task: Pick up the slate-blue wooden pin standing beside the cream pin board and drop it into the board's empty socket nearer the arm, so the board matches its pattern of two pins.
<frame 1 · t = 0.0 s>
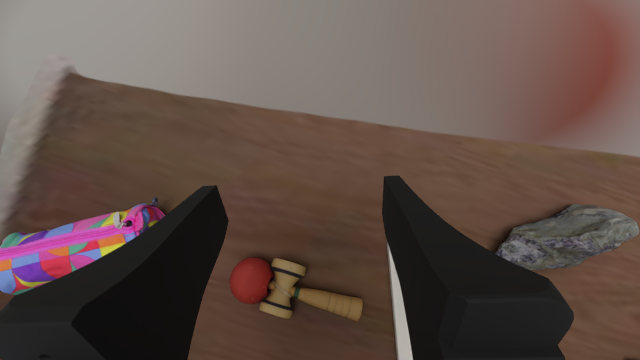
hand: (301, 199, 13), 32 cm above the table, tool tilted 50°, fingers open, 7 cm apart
pencil case: (113, 247, 47), on the table
kendama: (299, 289, 43), on the table
mineral rock: (536, 236, 42), on the table
pin board: (431, 324, 40), on the table
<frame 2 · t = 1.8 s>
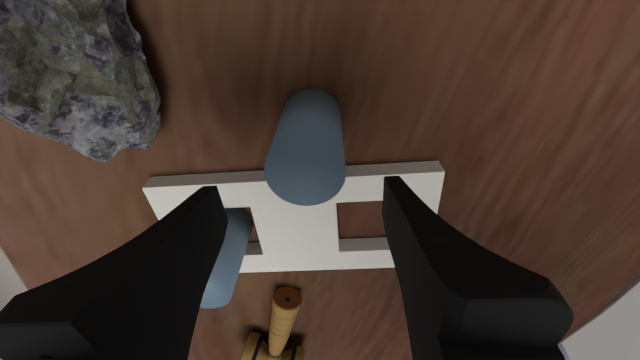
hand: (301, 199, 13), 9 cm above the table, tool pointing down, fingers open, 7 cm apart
kendama: (277, 327, 36), on the table
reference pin: (230, 220, 26), resting in pin board
mineral rock: (76, 18, 18), on the table
loose pin: (311, 117, 20), on the table
pin board: (298, 218, 26), on the table
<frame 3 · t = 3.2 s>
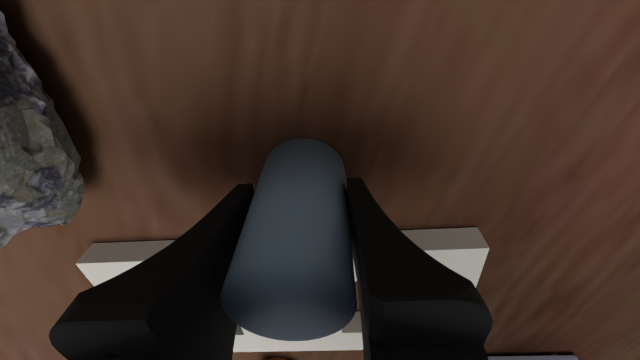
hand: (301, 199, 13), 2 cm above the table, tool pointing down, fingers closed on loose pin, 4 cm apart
loose pin: (304, 174, 15), on the table, touching gripper
pin board: (289, 289, 20), on the table
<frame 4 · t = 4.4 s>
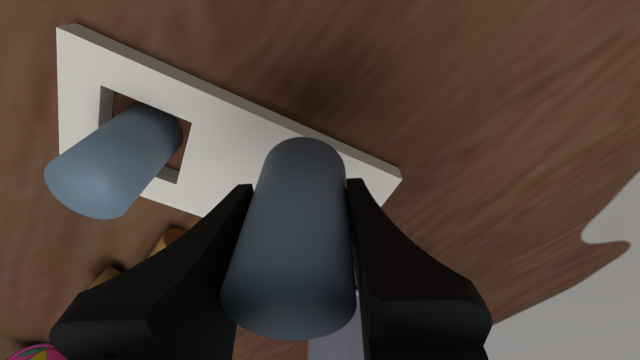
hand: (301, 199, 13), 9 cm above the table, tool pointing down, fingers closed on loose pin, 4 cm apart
kendama: (144, 272, 31), on the table
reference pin: (153, 129, 21), resting in pin board
loose pin: (304, 173, 15), point 7 cm above the table, touching gripper
pin board: (236, 162, 22), on the table
when the fingers open (4 cm above the table, at t = 6.1 s): loose pin drops 2 cm, resting in pin board.
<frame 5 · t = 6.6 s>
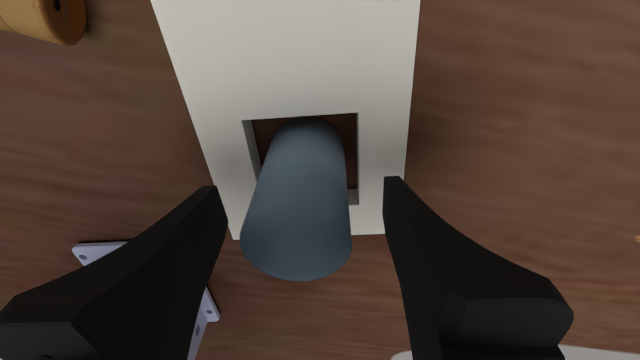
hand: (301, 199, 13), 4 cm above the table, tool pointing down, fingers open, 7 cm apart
loose pin: (307, 150, 16), resting in pin board
pin board: (292, 31, 13), on the table
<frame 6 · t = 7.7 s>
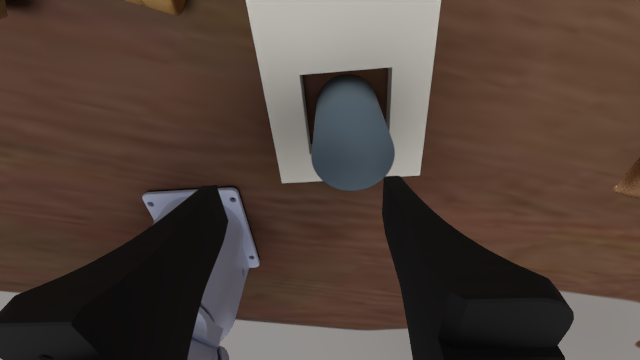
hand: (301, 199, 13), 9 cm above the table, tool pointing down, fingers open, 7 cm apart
loose pin: (346, 104, 20), resting in pin board
pin board: (341, 3, 17), on the table
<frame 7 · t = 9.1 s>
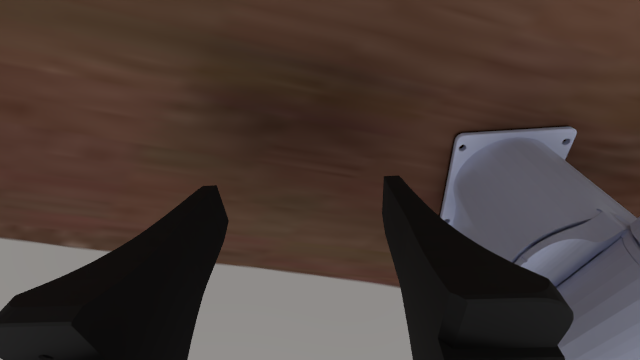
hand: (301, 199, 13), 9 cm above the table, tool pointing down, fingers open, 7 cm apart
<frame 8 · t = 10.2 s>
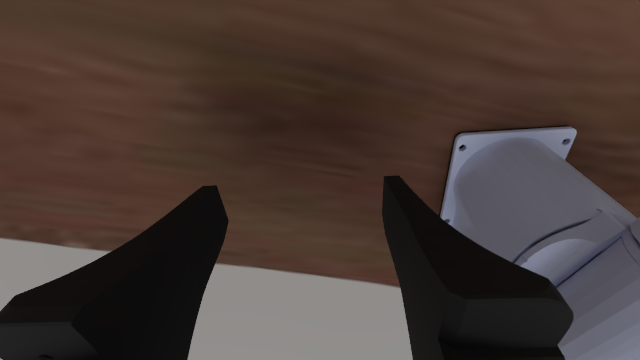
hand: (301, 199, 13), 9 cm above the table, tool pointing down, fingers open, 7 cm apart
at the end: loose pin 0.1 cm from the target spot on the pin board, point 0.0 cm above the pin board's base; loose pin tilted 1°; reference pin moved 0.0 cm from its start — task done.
